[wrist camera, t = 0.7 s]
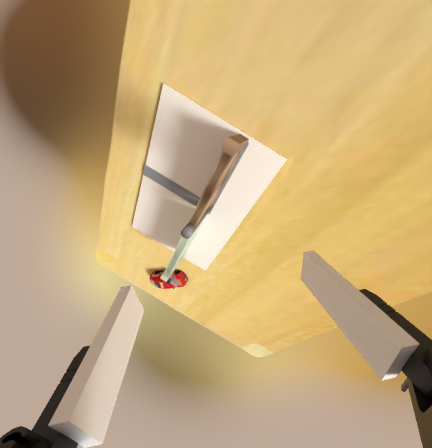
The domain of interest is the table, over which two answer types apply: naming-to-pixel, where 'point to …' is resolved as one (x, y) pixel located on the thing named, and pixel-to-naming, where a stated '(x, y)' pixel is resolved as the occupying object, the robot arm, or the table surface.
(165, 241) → the card
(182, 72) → the table surface
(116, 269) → the table surface
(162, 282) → the race car
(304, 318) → the table surface
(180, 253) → the hinged fence panel
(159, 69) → the table surface
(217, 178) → the fixed fence panel
